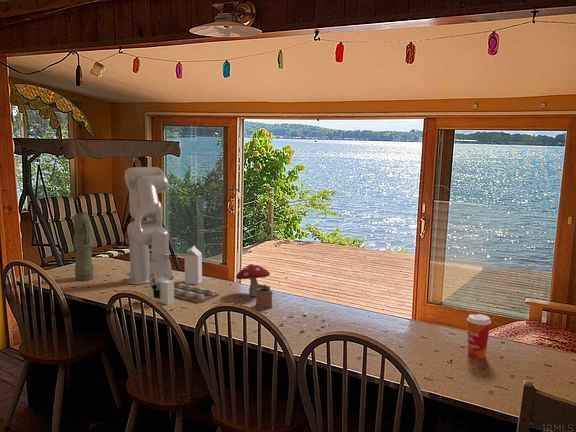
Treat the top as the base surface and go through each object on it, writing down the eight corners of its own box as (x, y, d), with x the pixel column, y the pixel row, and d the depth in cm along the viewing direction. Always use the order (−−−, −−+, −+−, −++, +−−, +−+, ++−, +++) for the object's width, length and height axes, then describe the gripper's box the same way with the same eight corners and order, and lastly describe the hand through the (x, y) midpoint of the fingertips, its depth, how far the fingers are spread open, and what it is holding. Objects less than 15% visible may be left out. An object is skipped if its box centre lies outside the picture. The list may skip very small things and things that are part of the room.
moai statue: (85, 275, 270) (83, 211, 265) (98, 278, 263) (95, 213, 258) (70, 278, 263) (67, 212, 258) (83, 282, 256) (79, 215, 251)
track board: (163, 295, 237) (163, 288, 237) (184, 288, 249) (184, 282, 248) (198, 303, 226) (198, 296, 225) (218, 295, 237) (218, 289, 237)
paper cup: (461, 351, 177) (463, 313, 175) (481, 351, 177) (484, 313, 175) (470, 361, 169) (473, 321, 167) (492, 360, 170) (495, 321, 167)
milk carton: (202, 281, 262) (201, 245, 259) (198, 284, 255) (197, 248, 252) (188, 280, 263) (188, 245, 260) (184, 284, 256) (184, 247, 253)
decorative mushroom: (231, 298, 233) (231, 267, 231) (243, 289, 249) (243, 259, 246) (263, 301, 229) (263, 269, 227) (273, 291, 244) (274, 262, 242)
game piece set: (321, 335, 191) (321, 325, 190) (272, 328, 198) (272, 318, 197) (334, 318, 209) (334, 310, 208) (289, 312, 216) (289, 304, 215)
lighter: (273, 306, 222) (273, 285, 221) (270, 309, 219) (270, 287, 218) (257, 304, 226) (257, 282, 224) (254, 306, 222) (254, 284, 221)
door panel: (149, 300, 229) (148, 279, 228) (156, 297, 233) (155, 276, 232) (167, 304, 223) (167, 283, 222) (174, 302, 227) (174, 280, 225)
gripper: (168, 253, 234) (169, 290, 237) (140, 259, 220) (141, 299, 222) (180, 255, 230) (180, 293, 233) (152, 262, 216) (153, 302, 219)
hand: (161, 295), depth 228 cm, fingers open, 5 cm apart
